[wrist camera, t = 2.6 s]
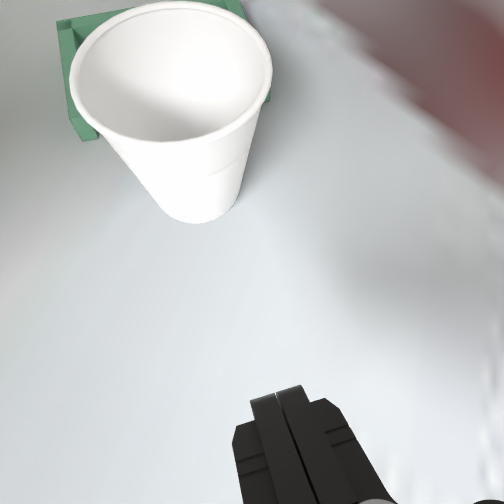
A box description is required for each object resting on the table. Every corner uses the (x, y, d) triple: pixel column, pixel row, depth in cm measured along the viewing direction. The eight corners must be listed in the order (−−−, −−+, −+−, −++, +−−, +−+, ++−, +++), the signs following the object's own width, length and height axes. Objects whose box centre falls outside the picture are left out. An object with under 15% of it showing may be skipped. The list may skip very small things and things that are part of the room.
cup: (205, 116, 32) (185, -26, 22) (292, 192, 29) (315, 69, 19) (103, 186, 29) (27, 61, 19) (189, 278, 26) (152, 187, 16)
